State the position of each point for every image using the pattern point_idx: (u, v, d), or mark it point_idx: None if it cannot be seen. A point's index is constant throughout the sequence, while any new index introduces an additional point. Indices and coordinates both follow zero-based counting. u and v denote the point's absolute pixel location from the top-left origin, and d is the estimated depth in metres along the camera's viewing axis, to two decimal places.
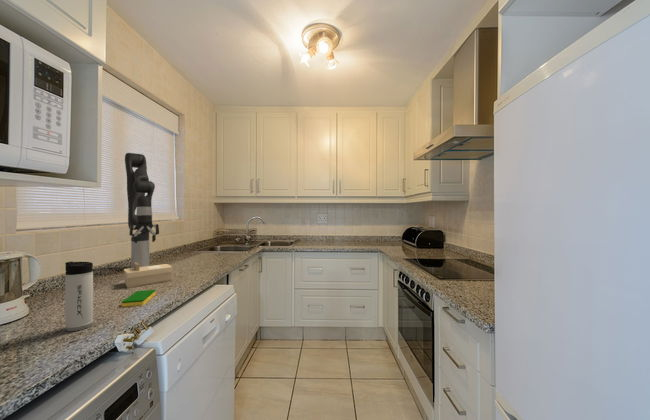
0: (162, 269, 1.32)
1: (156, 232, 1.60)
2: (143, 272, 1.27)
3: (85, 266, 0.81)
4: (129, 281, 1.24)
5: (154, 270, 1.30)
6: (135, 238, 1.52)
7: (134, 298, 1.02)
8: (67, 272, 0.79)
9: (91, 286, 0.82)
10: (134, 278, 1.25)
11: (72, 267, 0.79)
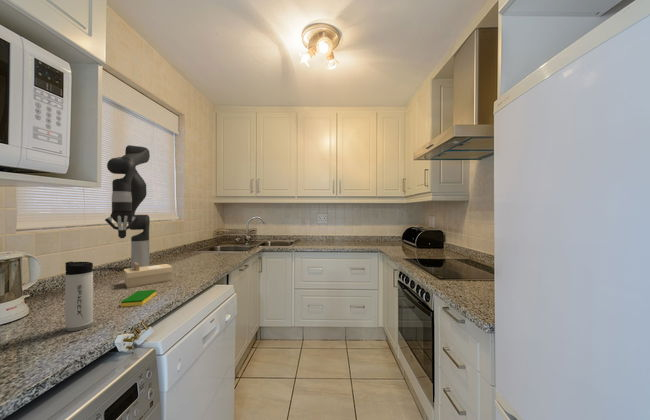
0: (162, 269, 1.32)
1: (127, 226, 1.27)
2: (143, 272, 1.27)
3: (85, 266, 0.81)
4: (129, 281, 1.24)
5: (154, 270, 1.30)
6: (120, 232, 1.25)
7: (133, 298, 1.02)
8: (67, 272, 0.79)
9: (91, 286, 0.82)
10: (134, 278, 1.25)
11: (72, 267, 0.79)
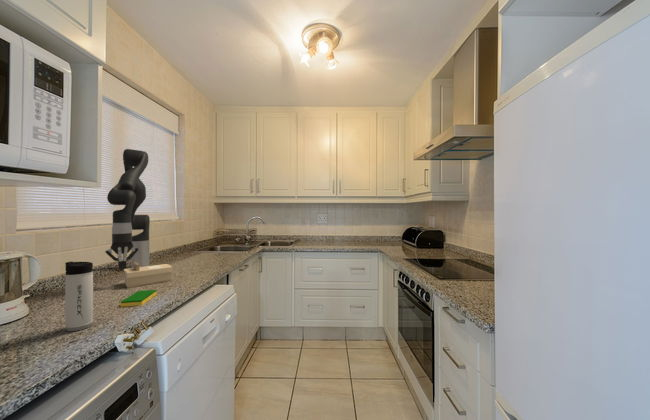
0: (162, 269, 1.32)
1: (127, 257, 1.27)
2: (143, 272, 1.27)
3: (85, 266, 0.81)
4: (129, 281, 1.24)
5: (154, 270, 1.30)
6: (120, 263, 1.25)
7: (133, 298, 1.02)
8: (67, 272, 0.79)
9: (91, 286, 0.82)
10: (134, 278, 1.25)
11: (72, 267, 0.79)
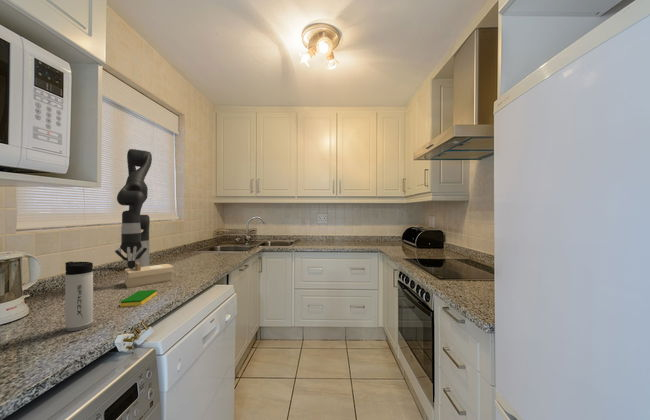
0: (163, 269, 1.32)
1: (136, 256, 1.29)
2: (144, 272, 1.27)
3: (85, 266, 0.81)
4: (129, 281, 1.24)
5: (155, 270, 1.30)
6: (129, 263, 1.27)
7: (133, 298, 1.02)
8: (67, 272, 0.79)
9: (91, 286, 0.82)
10: (134, 278, 1.25)
11: (72, 267, 0.79)
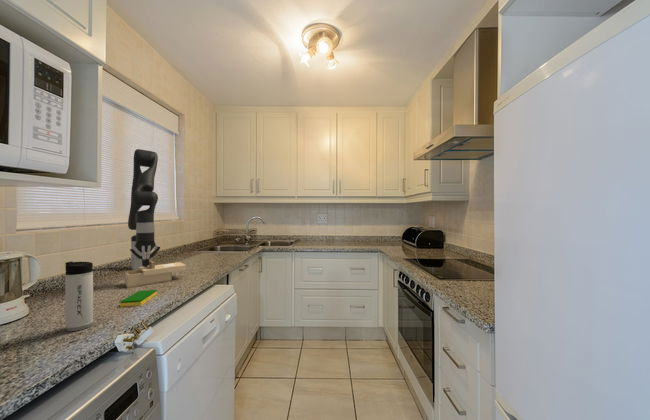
0: (176, 267, 1.36)
1: (150, 255, 1.33)
2: (158, 270, 1.31)
3: (85, 266, 0.81)
4: (129, 281, 1.24)
5: (169, 268, 1.34)
6: (144, 261, 1.31)
7: (133, 298, 1.02)
8: (67, 272, 0.79)
9: (91, 286, 0.82)
10: (134, 278, 1.25)
11: (72, 267, 0.79)
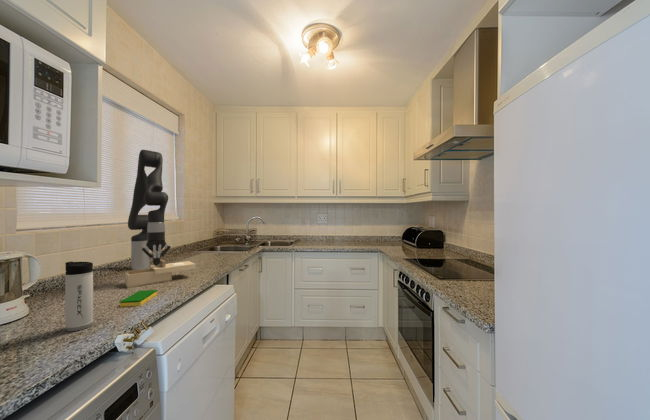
0: (186, 266, 1.39)
1: (161, 254, 1.36)
2: (169, 268, 1.34)
3: (85, 266, 0.81)
4: (129, 281, 1.24)
5: (179, 267, 1.37)
6: (155, 260, 1.34)
7: (133, 298, 1.02)
8: (67, 272, 0.79)
9: (91, 286, 0.82)
10: (134, 278, 1.25)
11: (72, 267, 0.79)
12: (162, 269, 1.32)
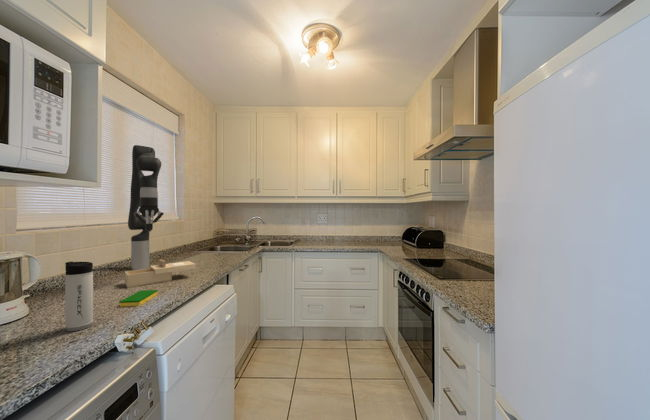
0: (186, 266, 1.40)
1: (153, 220, 1.35)
2: (169, 268, 1.34)
3: (85, 266, 0.81)
4: (129, 281, 1.24)
5: (179, 267, 1.37)
6: (147, 226, 1.33)
7: (132, 298, 1.02)
8: (67, 272, 0.79)
9: (91, 286, 0.82)
10: (134, 278, 1.25)
11: (72, 267, 0.79)
12: (162, 269, 1.32)
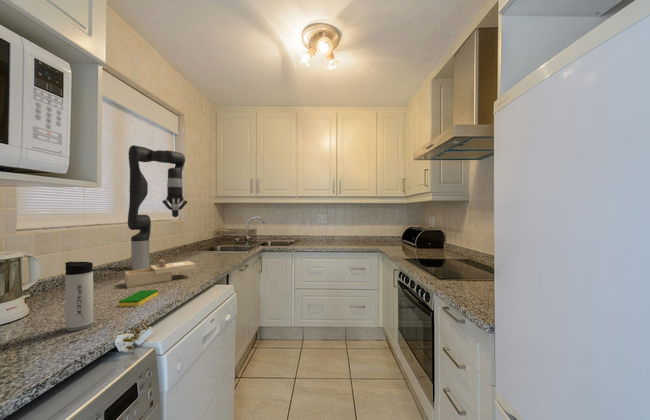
0: (186, 266, 1.40)
1: (179, 207, 1.53)
2: (169, 268, 1.34)
3: (85, 266, 0.81)
4: (129, 281, 1.24)
5: (179, 267, 1.37)
6: (174, 212, 1.51)
7: (132, 298, 1.02)
8: (67, 272, 0.79)
9: (91, 286, 0.82)
10: (134, 278, 1.25)
11: (72, 267, 0.79)
12: (162, 269, 1.32)
